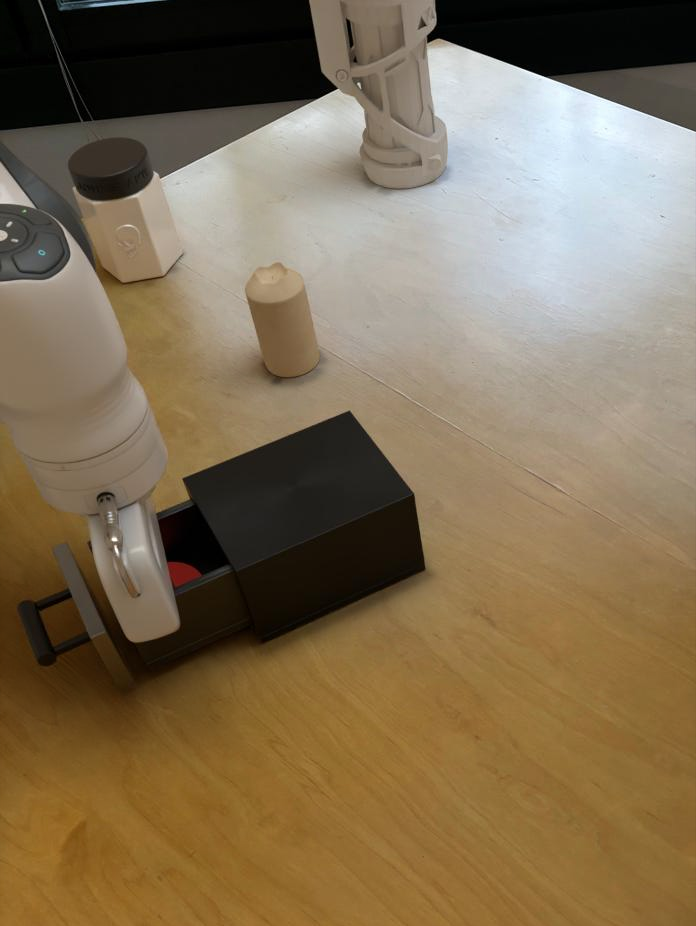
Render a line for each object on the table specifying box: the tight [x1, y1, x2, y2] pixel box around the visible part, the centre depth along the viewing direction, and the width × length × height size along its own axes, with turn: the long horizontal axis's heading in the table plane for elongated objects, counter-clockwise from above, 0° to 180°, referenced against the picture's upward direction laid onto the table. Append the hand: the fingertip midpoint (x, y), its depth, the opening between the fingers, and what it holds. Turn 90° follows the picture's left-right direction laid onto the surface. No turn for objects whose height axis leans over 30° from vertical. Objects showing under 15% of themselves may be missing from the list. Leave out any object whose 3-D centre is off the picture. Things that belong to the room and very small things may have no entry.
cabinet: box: [181, 410, 426, 644], centre depth 86 cm, size 15×12×9 cm
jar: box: [67, 136, 184, 284], centre depth 114 cm, size 9×8×12 cm
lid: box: [167, 562, 202, 588], centre depth 82 cm, size 7×7×4 cm
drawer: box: [16, 498, 253, 694], centre depth 82 cm, size 18×10×7 cm, turn 119°
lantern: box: [308, 0, 449, 190], centre depth 118 cm, size 13×10×25 cm
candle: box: [244, 261, 321, 378], centre depth 102 cm, size 6×6×10 cm
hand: (157, 586), depth 83 cm, fingers closed on lid, 2 cm apart
